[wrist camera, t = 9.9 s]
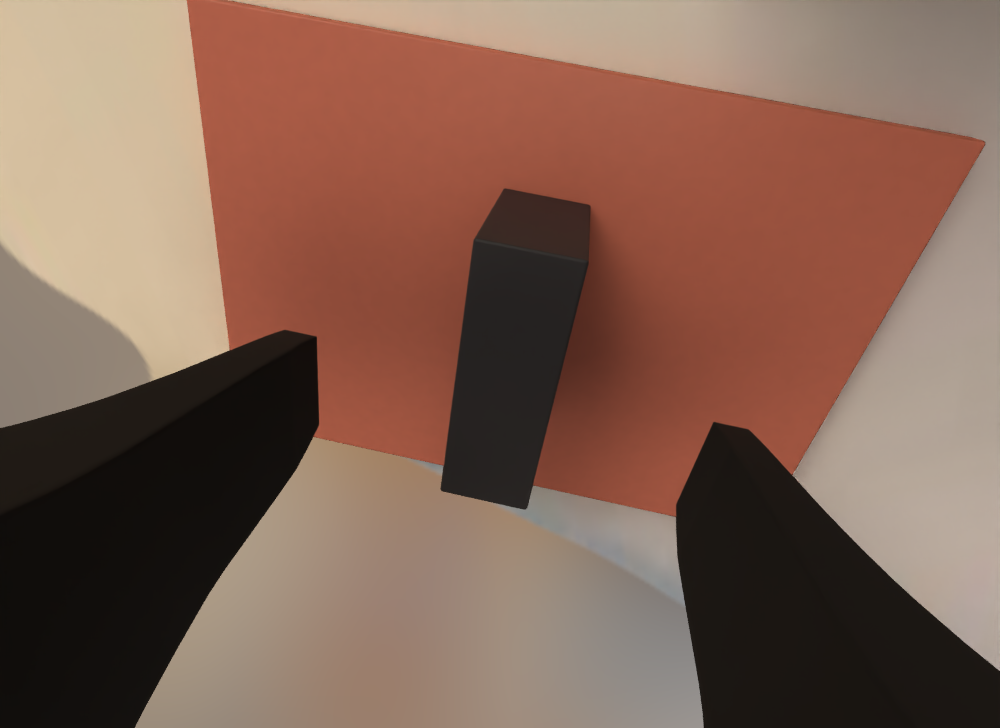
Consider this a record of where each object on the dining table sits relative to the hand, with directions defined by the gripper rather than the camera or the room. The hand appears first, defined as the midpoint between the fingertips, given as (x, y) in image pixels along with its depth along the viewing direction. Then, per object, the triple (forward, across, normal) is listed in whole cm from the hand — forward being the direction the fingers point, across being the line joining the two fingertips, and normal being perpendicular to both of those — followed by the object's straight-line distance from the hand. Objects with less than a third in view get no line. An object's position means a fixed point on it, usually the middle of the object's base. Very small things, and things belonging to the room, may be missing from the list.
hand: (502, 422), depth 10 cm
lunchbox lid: (+5, 0, 0) cm, 5 cm away
